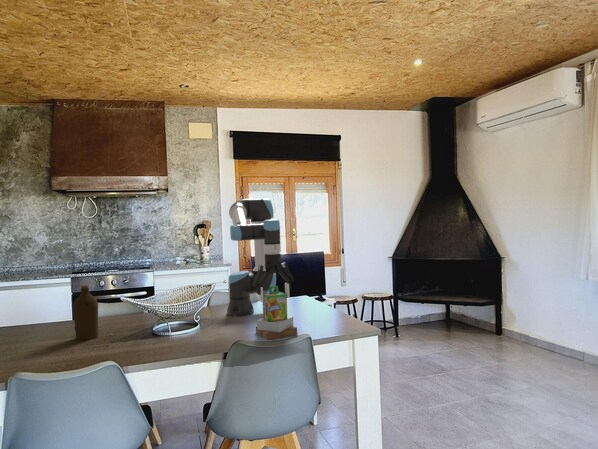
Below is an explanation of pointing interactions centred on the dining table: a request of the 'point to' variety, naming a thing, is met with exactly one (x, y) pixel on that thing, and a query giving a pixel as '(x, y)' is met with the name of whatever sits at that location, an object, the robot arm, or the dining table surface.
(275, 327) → the grey slab
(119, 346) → the dining table surface
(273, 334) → the walnut slab
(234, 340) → the dining table surface
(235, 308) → the robot arm
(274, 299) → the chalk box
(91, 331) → the olive oil
